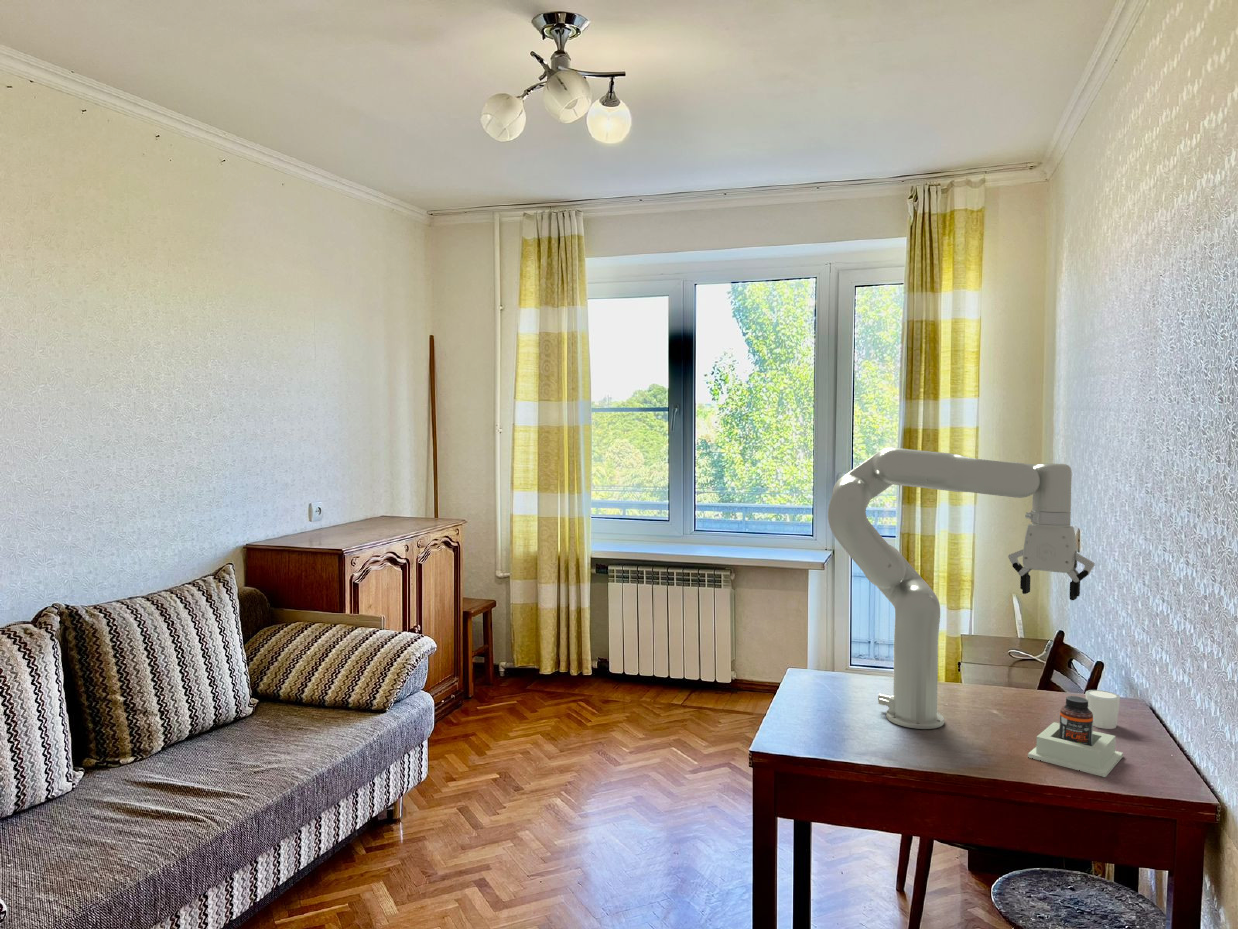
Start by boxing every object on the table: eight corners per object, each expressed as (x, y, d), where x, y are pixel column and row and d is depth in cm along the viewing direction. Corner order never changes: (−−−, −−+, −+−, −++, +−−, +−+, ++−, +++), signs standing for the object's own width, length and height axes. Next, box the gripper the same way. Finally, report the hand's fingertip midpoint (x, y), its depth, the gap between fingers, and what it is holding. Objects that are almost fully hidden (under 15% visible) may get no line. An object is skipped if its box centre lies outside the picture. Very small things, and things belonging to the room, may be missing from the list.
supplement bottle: (1063, 757, 165) (1064, 702, 165) (1055, 746, 171) (1056, 693, 171) (1096, 760, 164) (1097, 704, 164) (1086, 749, 170) (1088, 695, 169)
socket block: (1027, 757, 167) (1028, 736, 167) (1049, 738, 178) (1049, 719, 177) (1105, 777, 158) (1105, 755, 158) (1123, 756, 168) (1123, 736, 168)
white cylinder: (1112, 732, 182) (1113, 701, 181) (1079, 723, 187) (1080, 693, 187) (1124, 725, 186) (1125, 694, 186) (1091, 717, 191) (1092, 687, 191)
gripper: (1004, 517, 184) (1002, 593, 185) (1090, 523, 172) (1088, 604, 173) (1015, 515, 189) (1014, 588, 190) (1099, 521, 177) (1097, 599, 178)
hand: (1049, 596), depth 181 cm, fingers open, 9 cm apart
